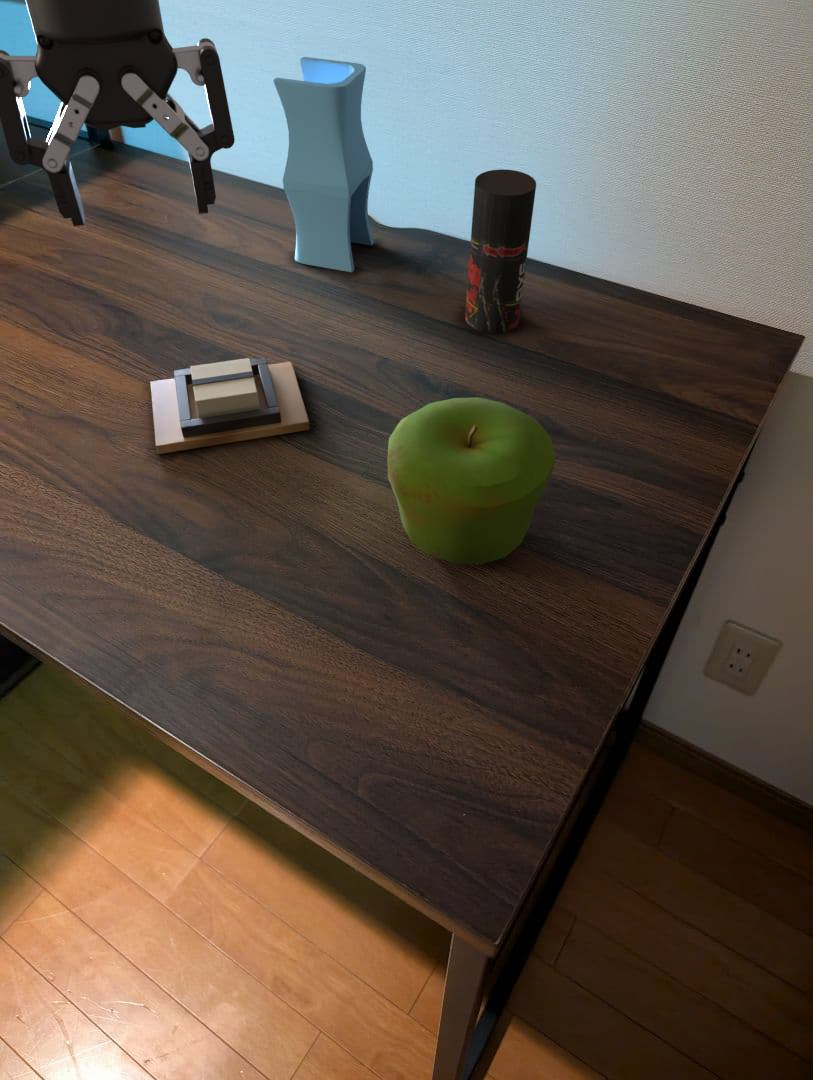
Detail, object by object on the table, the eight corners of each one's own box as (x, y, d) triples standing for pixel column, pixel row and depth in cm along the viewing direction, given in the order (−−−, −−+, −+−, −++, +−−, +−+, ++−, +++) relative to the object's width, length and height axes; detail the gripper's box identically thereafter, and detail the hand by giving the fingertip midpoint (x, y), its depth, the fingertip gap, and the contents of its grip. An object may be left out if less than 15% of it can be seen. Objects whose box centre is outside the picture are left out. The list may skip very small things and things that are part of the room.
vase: (316, 232, 101) (302, 56, 87) (374, 242, 100) (370, 64, 85) (291, 261, 96) (272, 79, 81) (352, 272, 95) (343, 88, 80)
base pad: (158, 454, 72) (152, 435, 71) (152, 389, 79) (147, 371, 77) (310, 430, 75) (308, 411, 73) (292, 369, 81) (290, 351, 80)
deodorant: (516, 336, 86) (534, 198, 75) (461, 330, 86) (471, 192, 75) (520, 307, 90) (538, 172, 79) (468, 301, 90) (478, 167, 79)
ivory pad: (200, 423, 74) (195, 400, 72) (195, 388, 77) (190, 365, 75) (260, 414, 75) (257, 391, 73) (252, 379, 78) (249, 356, 76)
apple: (530, 480, 70) (548, 374, 62) (547, 587, 62) (570, 481, 54) (389, 479, 70) (388, 373, 62) (387, 586, 62) (385, 480, 54)
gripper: (200, -83, 49) (236, 185, 60) (-50, -77, 46) (38, 202, 58) (212, -58, 44) (248, 228, 55) (-68, -50, 41) (33, 250, 53)
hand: (141, 215), depth 57 cm, fingers open, 8 cm apart
